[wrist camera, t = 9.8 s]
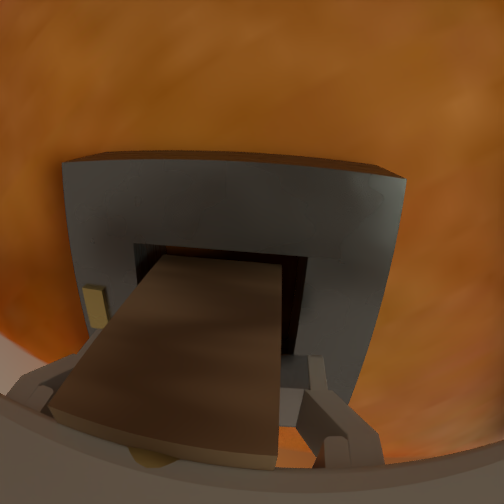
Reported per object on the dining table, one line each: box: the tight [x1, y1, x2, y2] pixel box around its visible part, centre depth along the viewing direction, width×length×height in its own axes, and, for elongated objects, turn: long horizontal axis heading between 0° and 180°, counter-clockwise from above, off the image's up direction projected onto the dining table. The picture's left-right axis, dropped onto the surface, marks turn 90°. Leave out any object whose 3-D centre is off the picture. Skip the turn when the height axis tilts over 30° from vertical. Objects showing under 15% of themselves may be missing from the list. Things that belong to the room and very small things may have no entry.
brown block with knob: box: [47, 255, 282, 471], centre depth 9 cm, size 5×5×9 cm
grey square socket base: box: [62, 150, 407, 427], centre depth 14 cm, size 12×12×4 cm
